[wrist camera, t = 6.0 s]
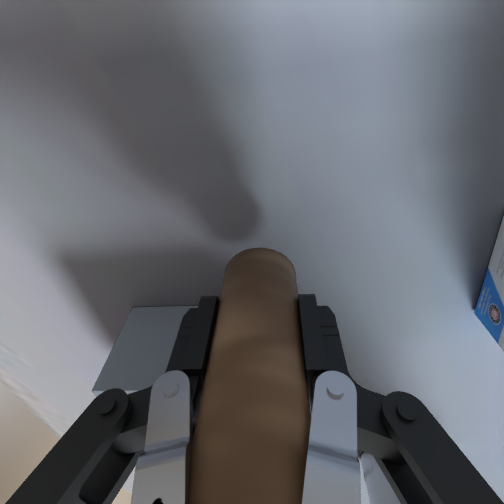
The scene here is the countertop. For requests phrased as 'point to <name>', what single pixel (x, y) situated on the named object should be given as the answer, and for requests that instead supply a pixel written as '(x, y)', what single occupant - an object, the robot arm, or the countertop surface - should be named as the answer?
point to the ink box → (494, 293)
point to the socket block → (141, 349)
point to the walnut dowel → (253, 390)
